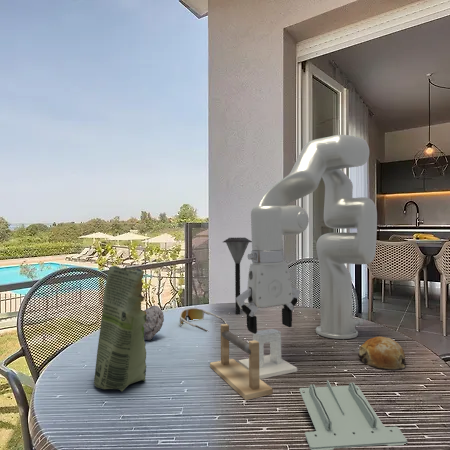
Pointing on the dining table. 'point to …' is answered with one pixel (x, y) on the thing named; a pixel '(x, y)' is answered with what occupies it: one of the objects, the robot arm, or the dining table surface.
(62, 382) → the dining table surface
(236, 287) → the solar garden light
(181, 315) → the sunglasses
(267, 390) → the rail stand
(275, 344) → the notched grey block
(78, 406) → the dining table surface
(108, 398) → the dining table surface
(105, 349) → the pouch
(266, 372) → the square tile
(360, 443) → the metal bracket
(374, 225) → the robot arm
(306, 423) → the dining table surface
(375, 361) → the bread roll
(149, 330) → the pumice stone
